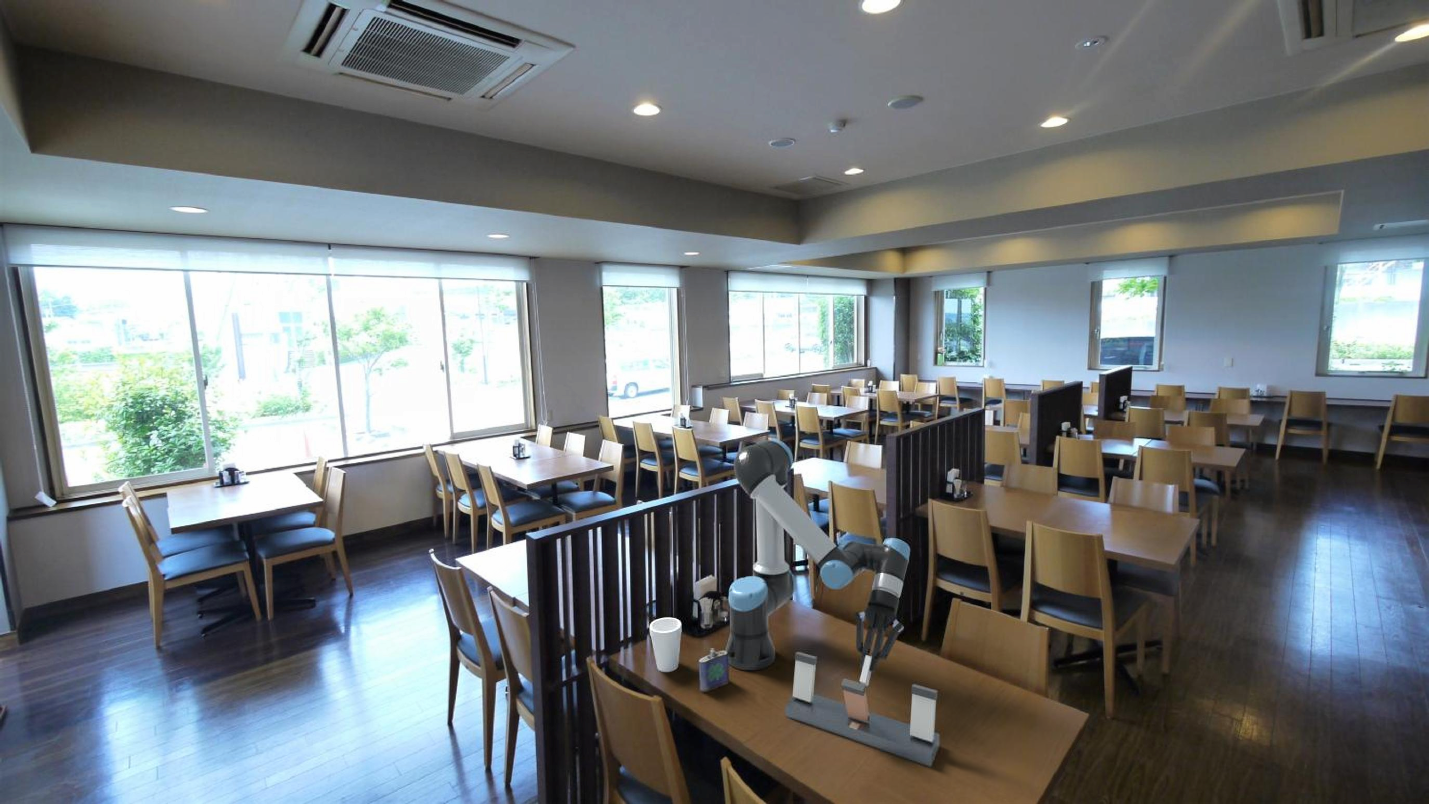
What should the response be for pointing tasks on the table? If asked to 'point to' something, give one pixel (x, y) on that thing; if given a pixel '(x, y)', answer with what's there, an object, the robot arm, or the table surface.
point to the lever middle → (855, 700)
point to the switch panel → (864, 728)
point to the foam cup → (666, 643)
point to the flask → (713, 670)
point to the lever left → (804, 676)
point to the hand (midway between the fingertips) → (863, 683)
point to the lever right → (923, 712)
